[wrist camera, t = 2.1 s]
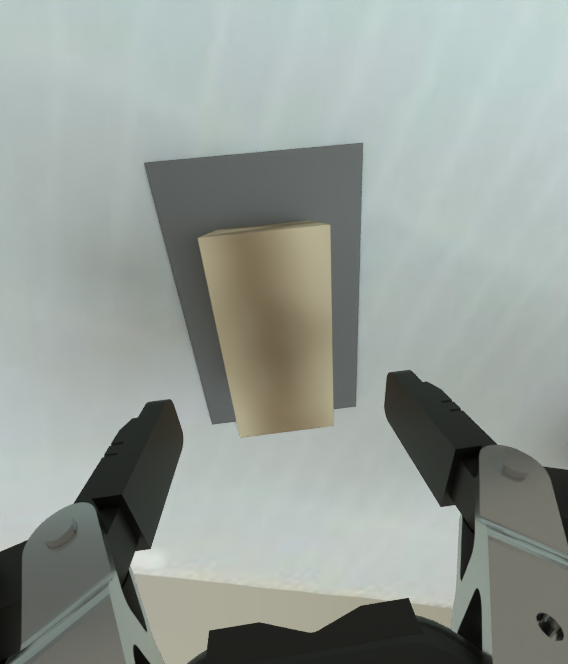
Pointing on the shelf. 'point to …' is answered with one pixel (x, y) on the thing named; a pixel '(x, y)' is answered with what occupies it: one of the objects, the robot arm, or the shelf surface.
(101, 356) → the shelf surface
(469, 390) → the shelf surface
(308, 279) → the maple block
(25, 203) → the shelf surface
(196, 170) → the picture tile
